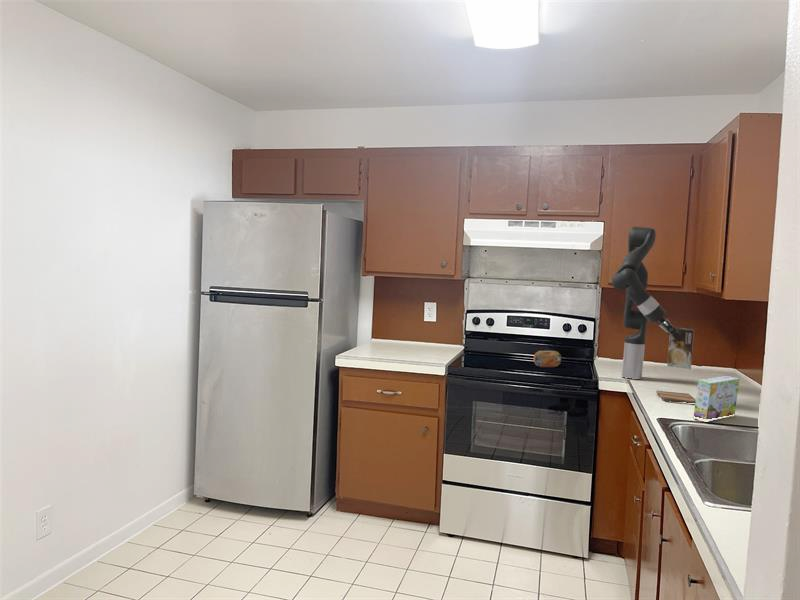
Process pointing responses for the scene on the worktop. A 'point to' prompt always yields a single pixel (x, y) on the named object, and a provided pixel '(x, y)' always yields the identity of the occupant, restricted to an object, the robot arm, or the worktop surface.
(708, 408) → the snack box
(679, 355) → the coffee box
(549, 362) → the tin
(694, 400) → the board
